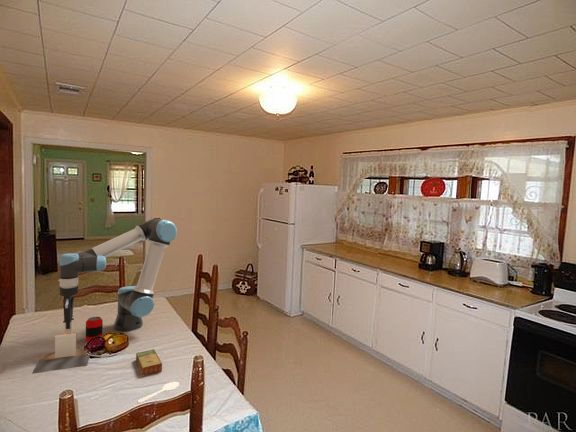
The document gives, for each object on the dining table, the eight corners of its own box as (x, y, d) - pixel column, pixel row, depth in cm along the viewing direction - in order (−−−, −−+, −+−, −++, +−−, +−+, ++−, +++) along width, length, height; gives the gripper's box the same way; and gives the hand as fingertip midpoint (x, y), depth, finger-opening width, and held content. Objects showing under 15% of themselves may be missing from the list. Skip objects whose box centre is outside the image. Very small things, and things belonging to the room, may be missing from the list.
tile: (76, 353, 160) (76, 332, 159) (75, 355, 158) (75, 334, 158) (55, 356, 157) (55, 334, 156) (54, 358, 155) (55, 336, 154)
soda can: (104, 341, 176) (104, 318, 176) (88, 345, 171) (88, 322, 170) (99, 336, 182) (99, 314, 181) (83, 340, 176) (83, 318, 175)
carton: (142, 377, 146) (142, 367, 146) (135, 361, 159) (135, 352, 159) (162, 372, 150) (162, 362, 150) (154, 356, 164) (154, 348, 164)
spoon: (134, 400, 130) (134, 398, 130) (174, 380, 144) (174, 379, 144) (141, 406, 126) (142, 404, 126) (182, 385, 141) (182, 384, 141)
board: (91, 350, 166) (91, 348, 166) (87, 368, 150) (87, 365, 150) (42, 356, 158) (42, 354, 158) (31, 376, 142) (31, 373, 142)
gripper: (62, 283, 166) (61, 330, 168) (56, 290, 154) (56, 341, 156) (80, 282, 169) (79, 328, 171) (76, 289, 158) (75, 339, 159)
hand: (68, 334), depth 163 cm, fingers closed
